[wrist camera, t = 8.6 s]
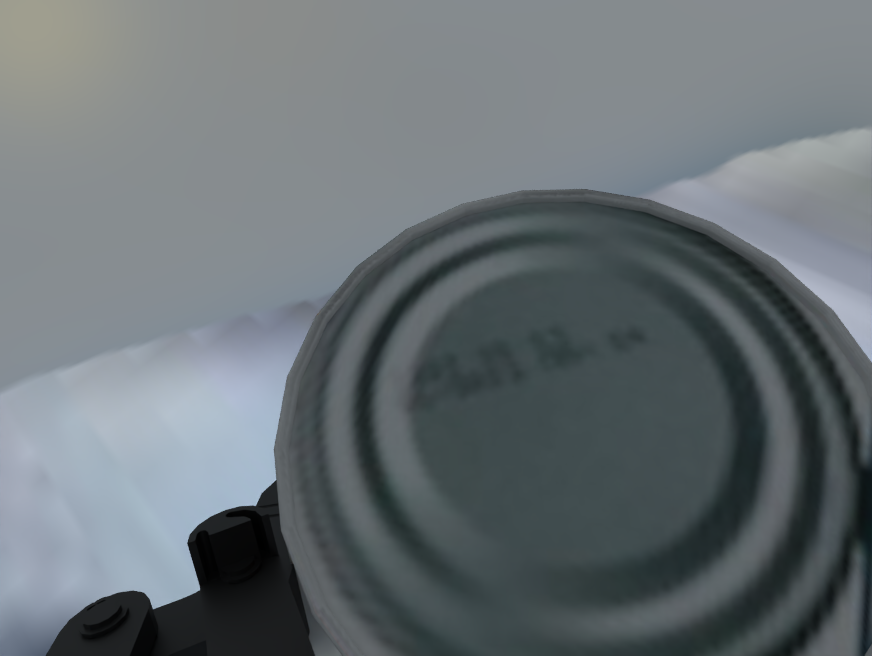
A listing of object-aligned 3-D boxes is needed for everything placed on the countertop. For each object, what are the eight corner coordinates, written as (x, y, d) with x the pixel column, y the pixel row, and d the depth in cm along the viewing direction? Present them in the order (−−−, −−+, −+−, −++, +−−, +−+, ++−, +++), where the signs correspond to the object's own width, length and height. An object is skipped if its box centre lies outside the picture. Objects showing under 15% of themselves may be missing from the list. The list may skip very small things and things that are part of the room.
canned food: (341, 586, 17) (142, 482, 7) (483, 395, 20) (491, 125, 10) (564, 780, 15) (781, 1085, 4) (691, 527, 17) (997, 341, 7)
